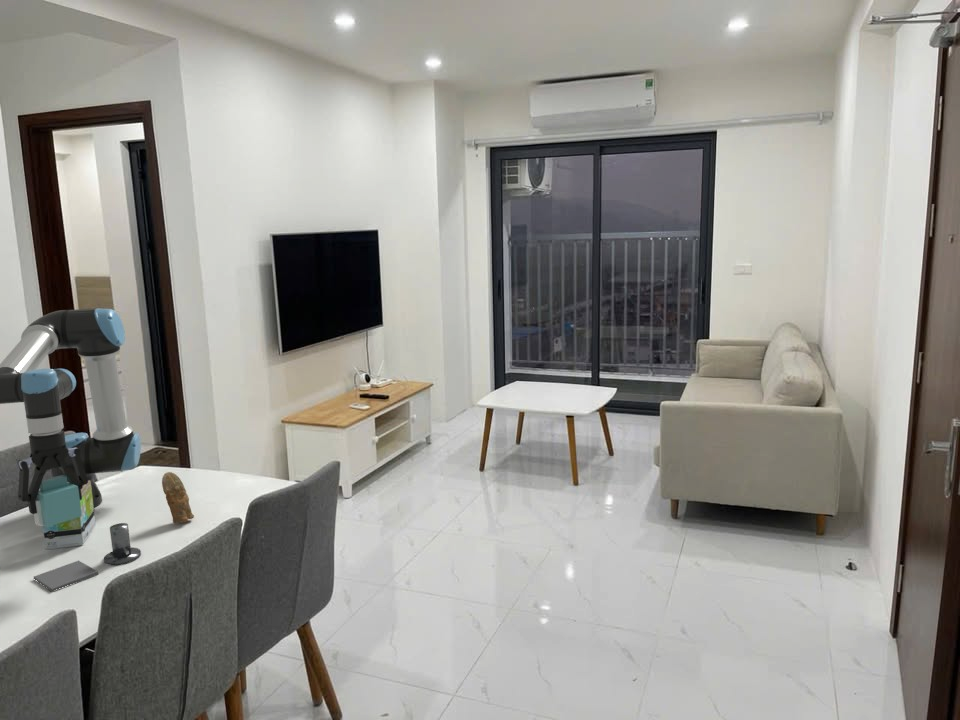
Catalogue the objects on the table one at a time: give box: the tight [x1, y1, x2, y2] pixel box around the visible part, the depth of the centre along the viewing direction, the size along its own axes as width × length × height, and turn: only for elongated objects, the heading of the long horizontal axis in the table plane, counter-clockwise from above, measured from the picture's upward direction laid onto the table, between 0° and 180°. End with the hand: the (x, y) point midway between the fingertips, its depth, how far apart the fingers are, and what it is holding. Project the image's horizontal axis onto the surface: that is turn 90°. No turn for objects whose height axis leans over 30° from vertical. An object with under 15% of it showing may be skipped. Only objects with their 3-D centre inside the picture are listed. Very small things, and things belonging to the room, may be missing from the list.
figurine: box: [161, 471, 195, 524], centre depth 215 cm, size 8×8×15 cm
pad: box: [33, 559, 99, 592], centre depth 181 cm, size 11×11×1 cm
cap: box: [32, 475, 82, 527], centre depth 177 cm, size 8×8×10 cm
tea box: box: [42, 480, 96, 550], centre depth 204 cm, size 15×10×15 cm
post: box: [103, 522, 142, 566], centre depth 191 cm, size 9×9×9 cm
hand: (58, 518), depth 178 cm, fingers closed on cap, 8 cm apart
